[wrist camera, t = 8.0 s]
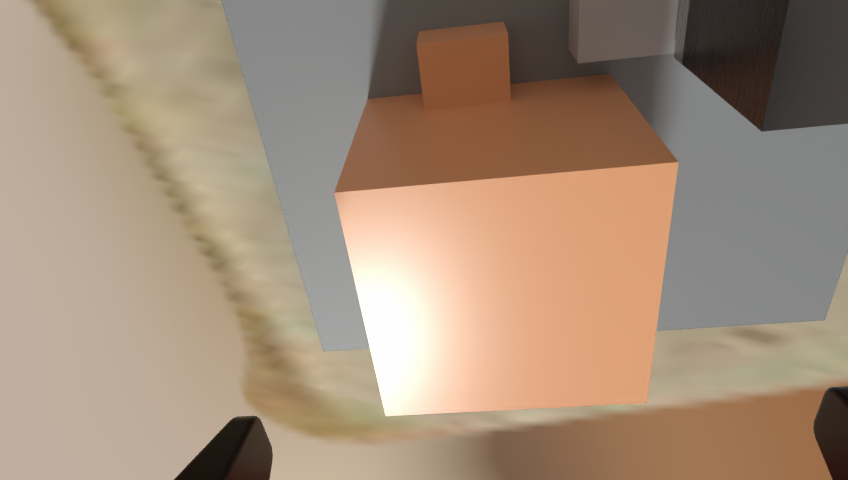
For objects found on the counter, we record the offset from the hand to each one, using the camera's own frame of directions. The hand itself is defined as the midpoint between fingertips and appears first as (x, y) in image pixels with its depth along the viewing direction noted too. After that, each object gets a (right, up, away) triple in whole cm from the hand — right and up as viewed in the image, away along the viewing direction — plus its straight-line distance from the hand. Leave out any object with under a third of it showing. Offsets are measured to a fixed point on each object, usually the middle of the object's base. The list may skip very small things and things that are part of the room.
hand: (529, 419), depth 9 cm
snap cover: (0, +4, +7) cm, 8 cm away
